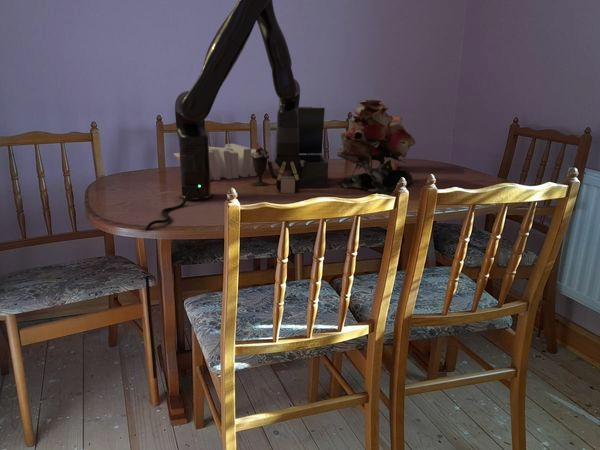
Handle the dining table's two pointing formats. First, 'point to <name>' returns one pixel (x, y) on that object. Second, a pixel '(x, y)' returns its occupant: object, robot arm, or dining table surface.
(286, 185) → the block
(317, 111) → the lid
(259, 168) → the sundae
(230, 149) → the wavy white extrusion
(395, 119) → the cracker box
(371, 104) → the rose bouquet
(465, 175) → the dining table surface
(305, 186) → the chest
